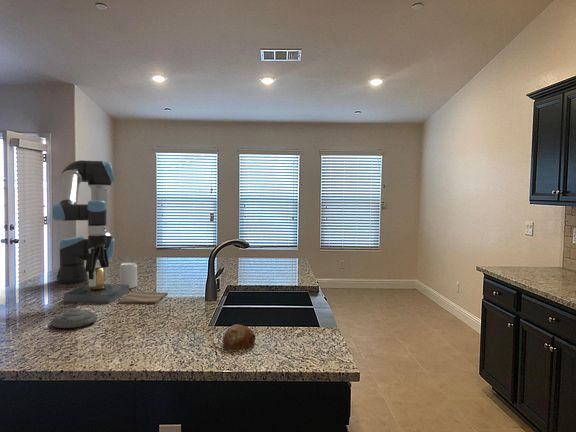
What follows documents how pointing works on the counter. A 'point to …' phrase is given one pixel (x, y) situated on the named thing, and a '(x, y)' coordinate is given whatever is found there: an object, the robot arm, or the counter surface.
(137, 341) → the counter surface
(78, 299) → the bore block
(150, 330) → the counter surface
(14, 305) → the counter surface
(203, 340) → the counter surface
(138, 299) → the walnut pad
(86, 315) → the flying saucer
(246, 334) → the bread roll
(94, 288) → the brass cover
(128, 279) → the white cylinder
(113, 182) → the robot arm
